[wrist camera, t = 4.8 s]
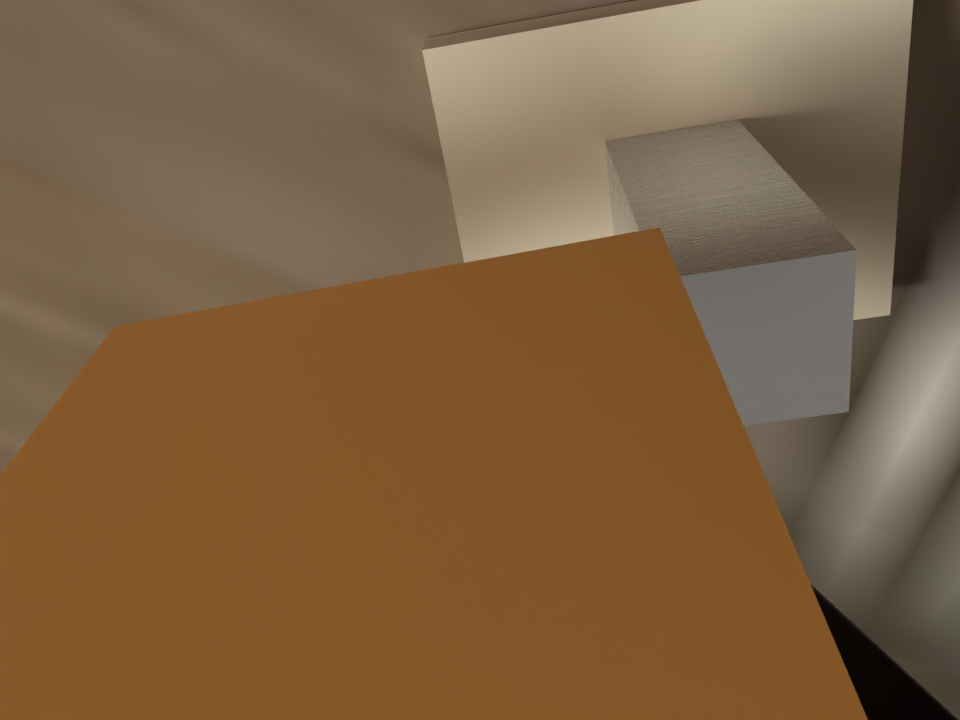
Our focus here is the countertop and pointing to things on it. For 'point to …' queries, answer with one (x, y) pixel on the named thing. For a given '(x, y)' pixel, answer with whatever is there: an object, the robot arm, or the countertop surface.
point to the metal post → (746, 263)
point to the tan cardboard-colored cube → (411, 513)
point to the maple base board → (674, 113)
